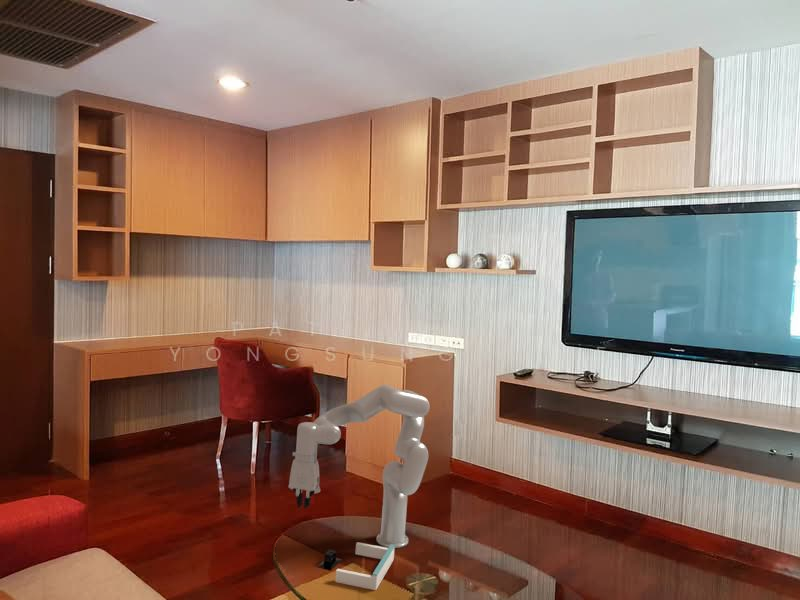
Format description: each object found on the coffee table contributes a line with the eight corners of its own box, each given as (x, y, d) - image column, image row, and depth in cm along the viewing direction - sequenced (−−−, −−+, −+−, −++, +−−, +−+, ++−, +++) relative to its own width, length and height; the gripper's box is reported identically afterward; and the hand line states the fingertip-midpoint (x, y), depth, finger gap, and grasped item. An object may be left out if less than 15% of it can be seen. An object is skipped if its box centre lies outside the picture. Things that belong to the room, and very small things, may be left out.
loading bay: (356, 552, 234) (357, 538, 233) (393, 559, 230) (394, 545, 230) (335, 581, 212) (336, 566, 211) (376, 590, 208) (377, 574, 208)
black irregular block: (330, 575, 217) (331, 562, 217) (312, 570, 220) (312, 557, 220) (346, 559, 229) (346, 547, 229) (328, 555, 231) (329, 543, 231)
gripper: (281, 456, 223) (278, 506, 224) (322, 463, 219) (319, 514, 220) (290, 451, 230) (287, 499, 232) (330, 457, 226) (327, 506, 228)
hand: (303, 506), depth 226 cm, fingers closed
